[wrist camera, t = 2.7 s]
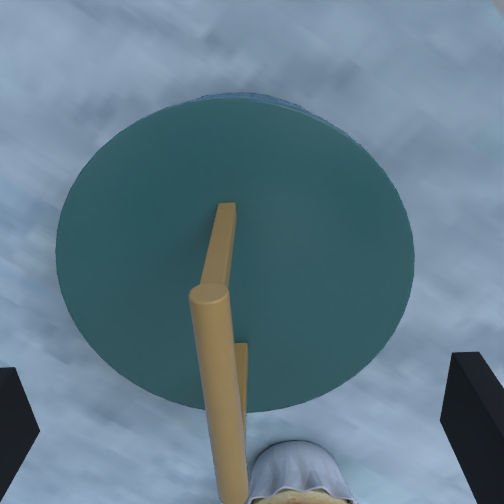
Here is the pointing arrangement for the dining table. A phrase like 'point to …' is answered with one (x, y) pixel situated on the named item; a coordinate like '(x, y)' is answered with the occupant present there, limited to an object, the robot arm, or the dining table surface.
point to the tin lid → (234, 261)
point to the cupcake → (297, 476)
